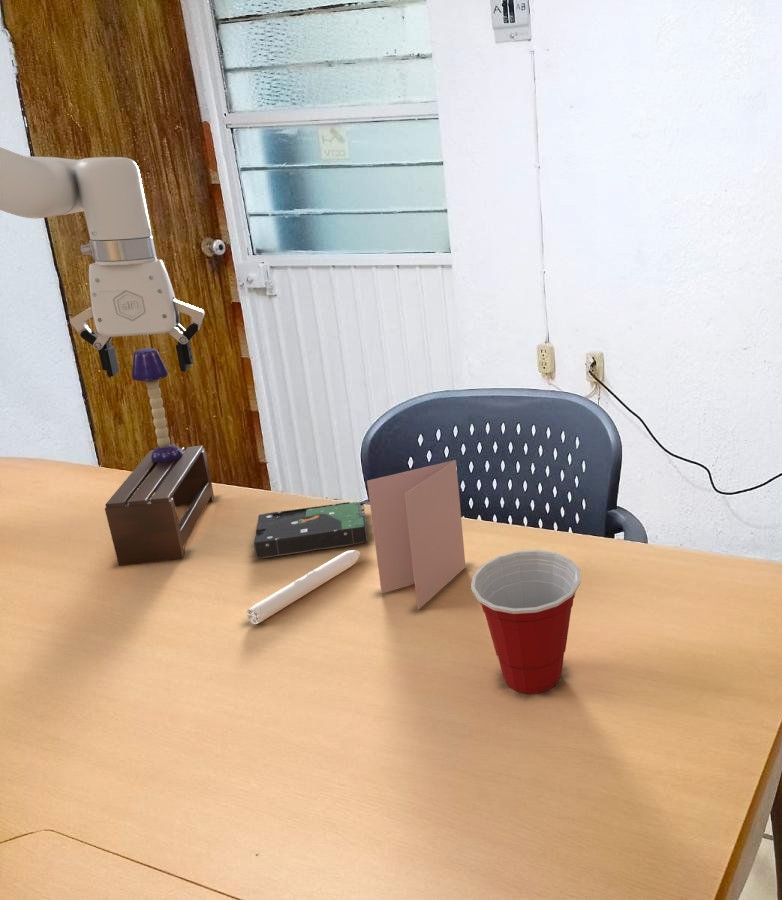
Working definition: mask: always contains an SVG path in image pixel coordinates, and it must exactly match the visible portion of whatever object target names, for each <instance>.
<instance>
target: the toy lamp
mask: <svg viewBox="0 0 782 900" xmlns="http://www.w3.org/2000/svg"><path fill="white" fill-rule="evenodd" d="M168 376H169V372H168V369H167V366H166V365H165V363H164V360H163V359H162V357H161V355H160V353H159V351H158V350H157V348H153V347H144V348H139V349H137V350H134V353H133V359H132V370H131V377H132V379H133V380H134V381H137V382H145V386H146V388H147V396H148V397H149V405H150V407H151V415H152V418H153V421H152V422H153V426H154V427H155V431H154V433H155V436H156V444H157V447H155V448H154V449H153V450H154V451H153V452H152V456H151V459H152V461H154V462H168V461H174V460H176V459H179V458H181V457H182V456H183V454H182V452H181V450H180V449H179V448H180V447H179V446H176V445H174V444H171V439H170V437H169V429H168V427H167V424H168V421H167V419H166V417H165V415H166V410H165V408H164V406H163V405H164V400H163V398H162V397H161V396H162V390H161V388H160V381H159V380H162V379H165V378H167V377H168Z"/></svg>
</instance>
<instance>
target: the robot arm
mask: <svg viewBox="0 0 782 900" xmlns="http://www.w3.org/2000/svg"><path fill="white" fill-rule="evenodd" d="M142 183H143V182H142V178H141V173H140V169H139V166H138V165H137V163H136V162H135V160H133V159H132V158H128V157H123V156H122V157H121V156H100V157H99V156H97V157H85V158H81V159H72V158H65V157H55V156H33V155H32V156H29V155H27V156H25V155H23V154H20V153H17V152H15V151H11V150H9V149H6V148H4V147H1V146H0V211H2V212H4V213H7V214H11V215H14V216H17V217H20V218H25V219H26V218H27V219H44V218H50V217H58V216H65V215H70V214H75V213H76V214H77V213H82V212H83V213H84V217H85V222H86V226H87V230H88V235H89V239H90V240H88V243H86V244H80V252H81V253H82V255H83V256H85V255H87V256H91V257H92V260H93V261H94V262H93V263H89V264H88V281H89V282H88V283H89V294H90V295H89V296H90V302H91V306H90V307H88V308H87V309H84V310H83V311H82V312H80V313H77V314H76V315H75V316H73V317H71V318H70V319H69V323H70V325H71V326H72V327H73V328H74V330H75V331H76V332H77V333H78V334H79V336H80V337H81V338H82V339H83V340H85V342H87V343H89V344H90V345H91V346H93V348H94V349H95V350H97V352H98V355H99V356H98V357H99V359H100V360H99V361H100V364H101V369H102V370H103V371H105V372H106V376H107V377H108V378H113V377H114V376H116V375H117V374H118V373H120V367H119V363H118V359H117V353H116V349H115V346H114V345H113V344H111V341H112V339H113V338H114V337H130V336H146V335H160V334H166V333H168V334H169V335H170V336H171V337H172V338H174V340H176V341H177V344H176V345H175V351H176V356H177V361H178V365H179V370H180V372H183V373H184V372H185V373H186V372H187V371H188V370H190V368H191V365H193V364H194V356H193V352H192V346H191V343H190V341H191V340H192V338H193V337H194V336H195V335H196V334H197V332H198V331H199V330H200V329H201V325H202V323H203V320H204V317H205V314H206V313H205V310H204V309H202V308H199V307H196V306H194V305H191V304H189V303H185V302H183V301H180V300H178V299H177V298H176V295H175V291H174V288H173V286H172V282H171V279H170V276H169V273H168V270H167V268H166V266H165V263H164V262H163V259H161V258H158V257H157V253H156V248H155V242H154V237H153V234H152V228H151V223H150V217H149V213H148V207H147V201H146V197H145V193H144V187H143V184H142ZM180 313H181V314H184V315H186V316H189V317H190V318H191V319H190V323H189V326H188V327H187V328H185V327H183V326H182V325H181V324H180V323H181V317H180ZM92 318H93V322H94V326H95V329H96V331H97V332H96V331H94V330H93V329H91V328H89V326H88V324H87V322H88V321H89V320H90V319H92Z"/></svg>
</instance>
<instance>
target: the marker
mask: <svg viewBox="0 0 782 900" xmlns="http://www.w3.org/2000/svg"><path fill="white" fill-rule="evenodd" d="M360 555H361V552H360V551H359V550H354V549H353V550H347V551H344V552H342V553H340V554H339V555H337V556H335V557H333V558H332V559H330V560H329V561H327V562H324V563H322V565H320V566H318V567H316V568H315V569H311V571H309V572H307V573H306V574H305V575H302V576H301V577H299V578H297V579H295V580H294V581H293V582H291V583H290V584H288V585H286V586H284V587H282V588H281V589H279V590H278V591H275V592H274V593H272V594H271V595H269V596H267V597H266V598H264V599H262V600H260V601H259V602H257V603H256V604H254V605H252V606H250V607H249V608H248V609H246V617H247V619H248V621H249V622H250V623H251V624H253V625H258V624H260V623H262V622H263V621H265V620H267V619H268V618H270V617H272V616H273V615H275V614H276V613H279V612H280V611H281V610H283V609H285V608H287V607H288V606H290V605H291V604H293V603H294V602H295V601H297V600H299V599H300V598H302V597H304V596H306V595H308V594H310V593H311V592H312V591H314V590H316V589H317V588H319V587H320V586H322V585H323V584H326V583H327V582H329V581H330V580H331V579H333V578H335V577H337V576H338V575H340V574H341V573H343V572H346V570H348V569H350V568H351V567H352V566H353V565H355V564H356V563H357V561H358V560H359V557H360Z"/></svg>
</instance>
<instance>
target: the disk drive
mask: <svg viewBox="0 0 782 900" xmlns="http://www.w3.org/2000/svg"><path fill="white" fill-rule="evenodd" d="M366 520H367V518H366V511H365V504H364V502H363V501H351V502H350V501H348V502H347V501H346V502H340V503H335V504H326V505H319V506H312V507H304V508H297V509H296V508H295V509H288V510H282V511H272V512H267V513H261V514H259V515H258V517H257V523H256V527H255V536H254V539H253V547H254V550H255V551H254V552H255V556H256V558H257V559H260V558H263V559H265V558H272V557H279V556H286V555H291V554H292V555H293V554H299V553H305V552H311V551H315V550H317V551H318V550H324V549H332V548H341V547H346V546H351V545H358V544H363V543H366V542H369V537H368V528H367V521H366Z"/></svg>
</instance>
